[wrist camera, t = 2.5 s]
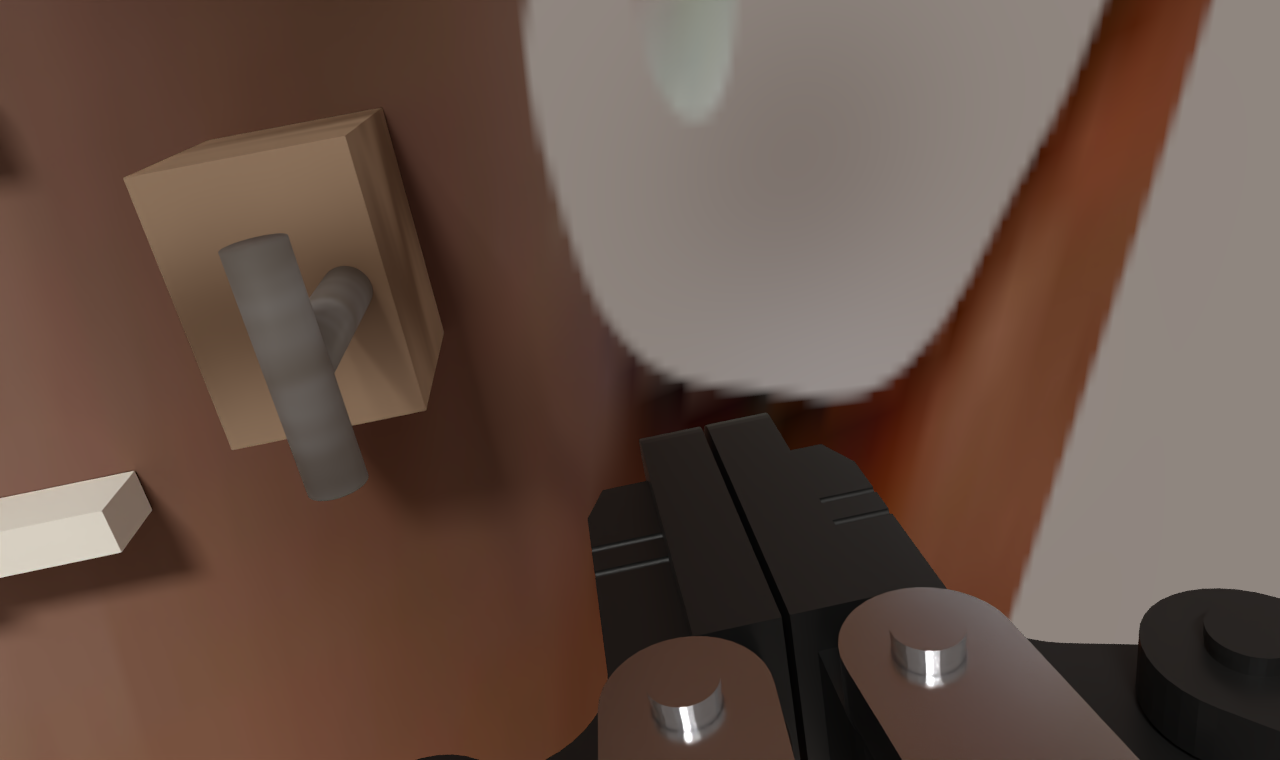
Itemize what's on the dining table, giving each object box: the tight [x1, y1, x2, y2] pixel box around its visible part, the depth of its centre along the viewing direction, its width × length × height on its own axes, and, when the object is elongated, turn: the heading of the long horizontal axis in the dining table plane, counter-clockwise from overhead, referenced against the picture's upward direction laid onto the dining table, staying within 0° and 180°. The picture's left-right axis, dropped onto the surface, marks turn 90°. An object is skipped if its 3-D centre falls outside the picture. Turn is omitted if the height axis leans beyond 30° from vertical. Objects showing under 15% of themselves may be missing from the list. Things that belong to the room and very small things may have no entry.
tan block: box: [123, 107, 444, 501], centre depth 22 cm, size 7×5×12 cm
